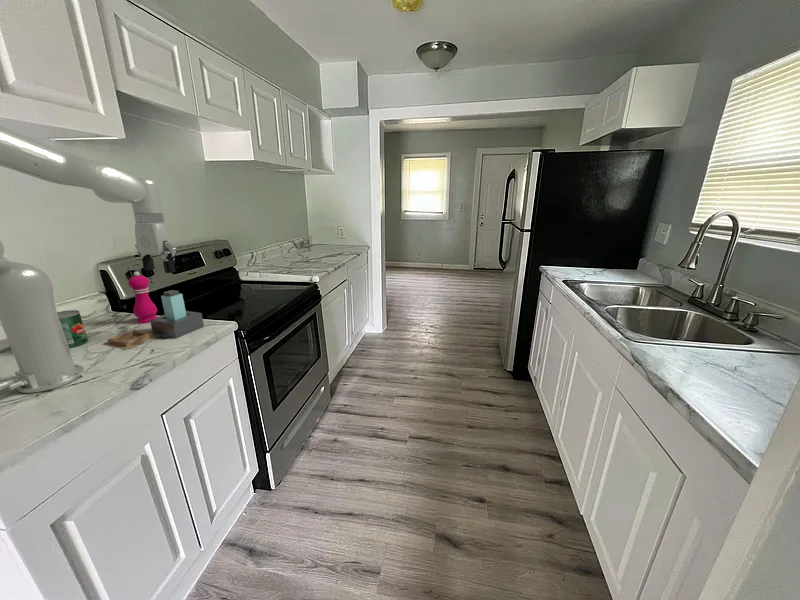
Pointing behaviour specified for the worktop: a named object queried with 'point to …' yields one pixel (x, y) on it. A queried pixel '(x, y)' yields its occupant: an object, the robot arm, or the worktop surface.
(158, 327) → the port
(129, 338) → the square wooden tray
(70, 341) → the canned tomato
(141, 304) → the pepper mill
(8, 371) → the worktop surface
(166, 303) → the plug
